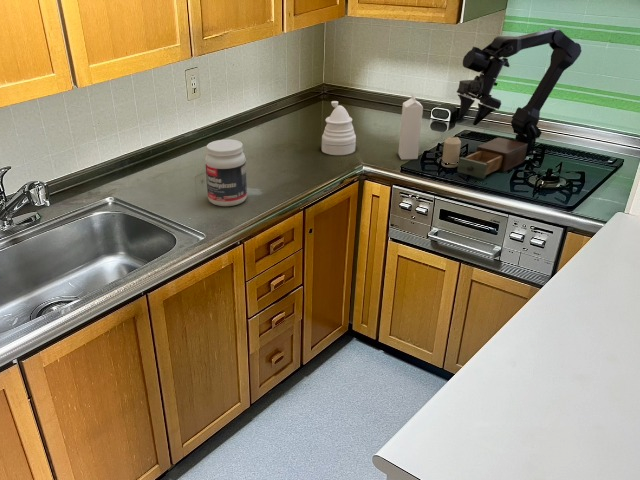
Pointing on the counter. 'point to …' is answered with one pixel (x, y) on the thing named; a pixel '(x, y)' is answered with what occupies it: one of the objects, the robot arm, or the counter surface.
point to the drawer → (480, 163)
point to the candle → (451, 151)
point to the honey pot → (338, 132)
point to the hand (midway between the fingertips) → (466, 121)
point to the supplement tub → (226, 172)
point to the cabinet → (506, 151)
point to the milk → (410, 129)
